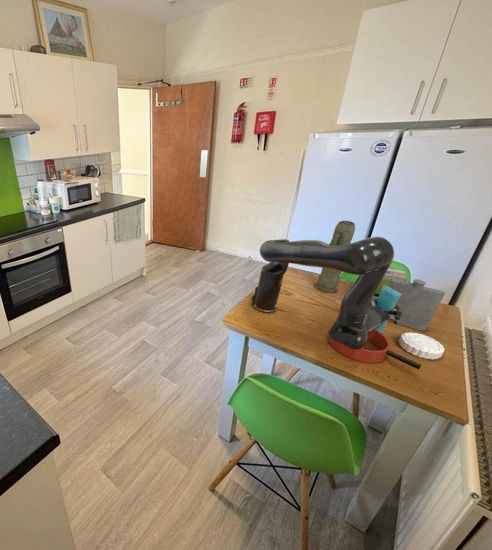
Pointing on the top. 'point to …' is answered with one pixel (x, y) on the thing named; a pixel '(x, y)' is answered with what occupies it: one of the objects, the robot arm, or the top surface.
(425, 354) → the mooncake
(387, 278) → the tea box
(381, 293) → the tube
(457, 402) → the top surface
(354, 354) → the pan
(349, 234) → the thermos
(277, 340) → the top surface
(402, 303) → the hip flask
